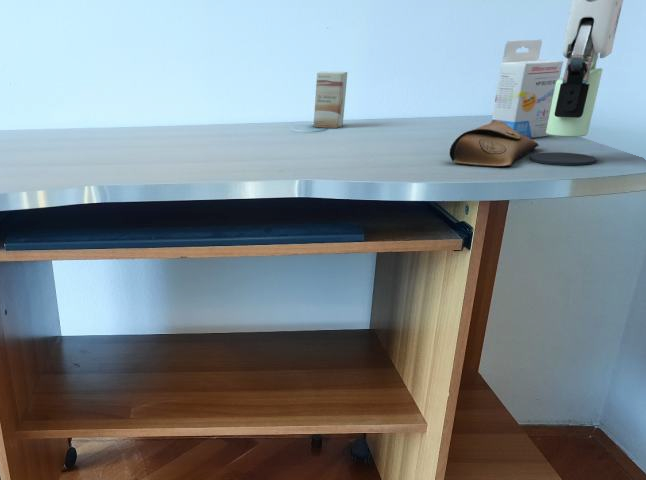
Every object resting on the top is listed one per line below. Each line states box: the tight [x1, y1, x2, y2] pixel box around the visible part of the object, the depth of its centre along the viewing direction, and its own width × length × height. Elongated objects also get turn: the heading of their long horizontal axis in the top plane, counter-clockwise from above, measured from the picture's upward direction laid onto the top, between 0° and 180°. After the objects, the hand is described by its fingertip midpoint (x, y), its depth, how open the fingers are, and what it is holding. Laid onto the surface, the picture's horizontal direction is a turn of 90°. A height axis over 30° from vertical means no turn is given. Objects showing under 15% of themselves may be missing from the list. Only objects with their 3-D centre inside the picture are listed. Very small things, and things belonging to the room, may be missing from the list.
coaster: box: [529, 151, 597, 167], centre depth 88 cm, size 8×8×1 cm
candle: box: [546, 67, 604, 138], centre depth 85 cm, size 5×5×8 cm
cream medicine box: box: [313, 70, 348, 129], centre depth 125 cm, size 5×4×10 cm
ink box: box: [491, 39, 564, 139], centre depth 104 cm, size 8×5×15 cm, turn 114°
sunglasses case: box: [449, 120, 540, 167], centre depth 92 cm, size 18×7×7 cm
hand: (570, 112), depth 86 cm, fingers closed on candle, 4 cm apart
